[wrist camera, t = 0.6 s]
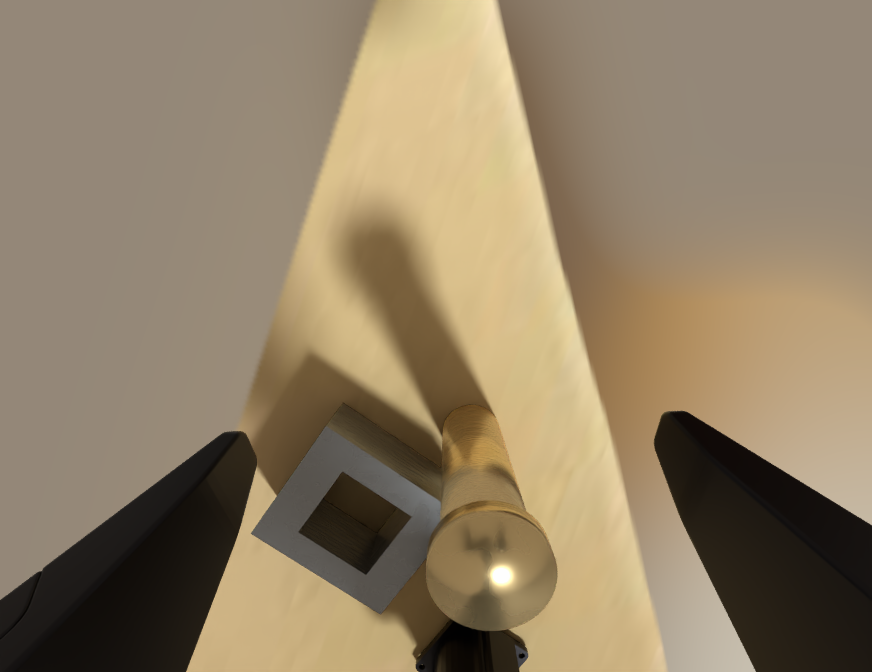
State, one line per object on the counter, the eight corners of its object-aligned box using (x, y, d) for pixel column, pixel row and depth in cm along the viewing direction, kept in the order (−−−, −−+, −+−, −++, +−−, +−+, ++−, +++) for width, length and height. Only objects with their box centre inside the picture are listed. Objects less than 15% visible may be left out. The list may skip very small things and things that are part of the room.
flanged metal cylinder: (478, 477, 28) (503, 652, 16) (421, 439, 28) (399, 586, 15) (521, 424, 28) (584, 563, 15) (463, 384, 27) (477, 491, 14)
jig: (389, 568, 30) (380, 614, 26) (277, 497, 29) (250, 533, 25) (459, 480, 29) (461, 515, 25) (343, 402, 28) (325, 426, 24)
